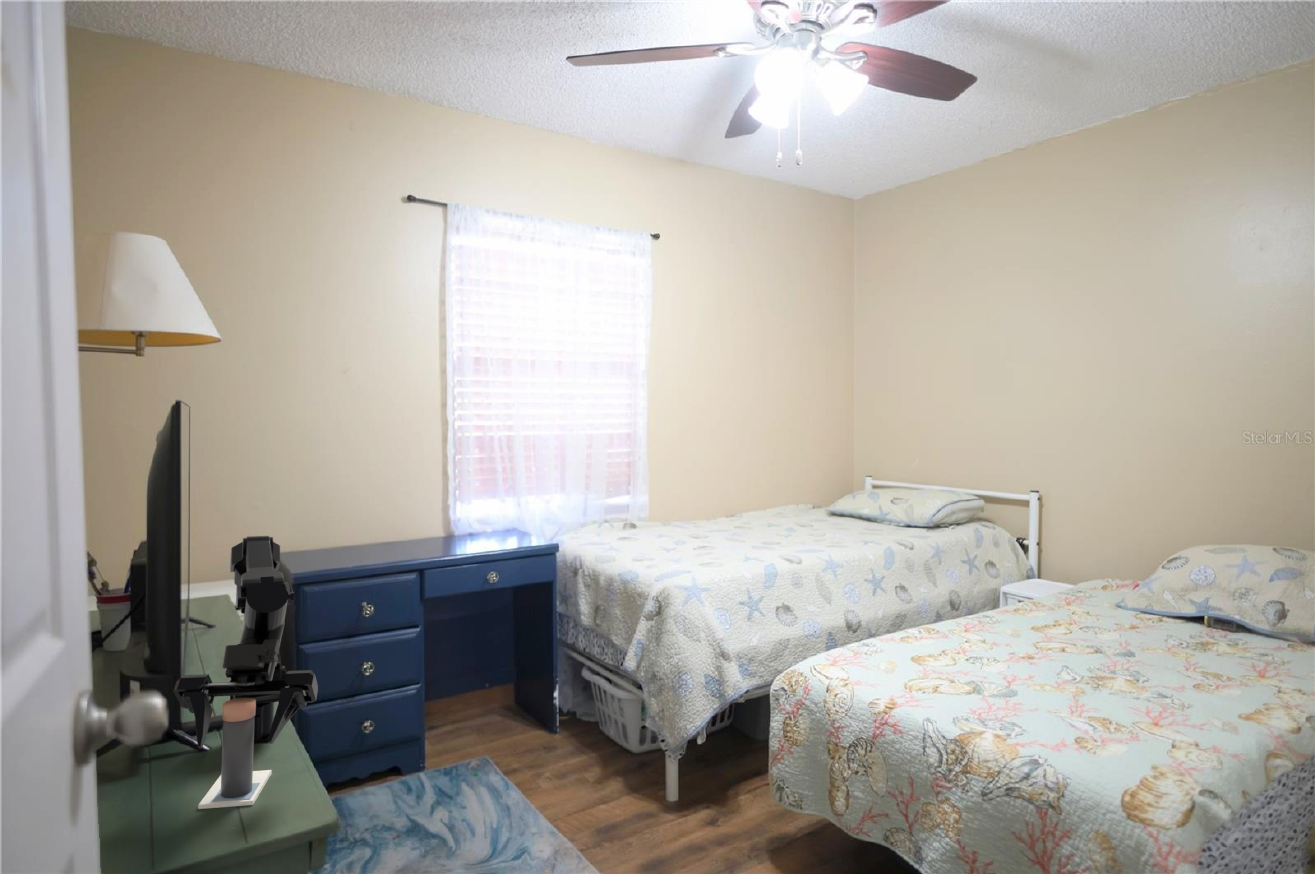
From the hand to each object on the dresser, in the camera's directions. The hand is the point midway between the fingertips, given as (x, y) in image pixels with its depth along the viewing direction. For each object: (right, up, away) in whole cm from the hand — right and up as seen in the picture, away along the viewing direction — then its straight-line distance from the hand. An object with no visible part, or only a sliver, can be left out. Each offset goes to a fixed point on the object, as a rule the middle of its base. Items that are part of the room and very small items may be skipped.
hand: (235, 745), depth 108 cm
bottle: (-1, -7, +1) cm, 8 cm away
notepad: (-1, -8, +3) cm, 9 cm away
